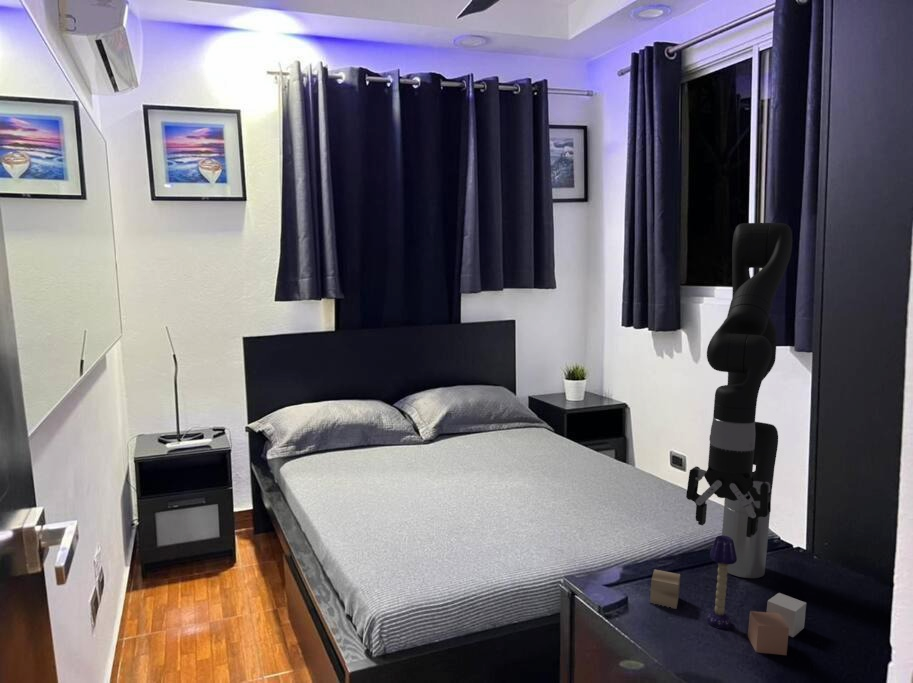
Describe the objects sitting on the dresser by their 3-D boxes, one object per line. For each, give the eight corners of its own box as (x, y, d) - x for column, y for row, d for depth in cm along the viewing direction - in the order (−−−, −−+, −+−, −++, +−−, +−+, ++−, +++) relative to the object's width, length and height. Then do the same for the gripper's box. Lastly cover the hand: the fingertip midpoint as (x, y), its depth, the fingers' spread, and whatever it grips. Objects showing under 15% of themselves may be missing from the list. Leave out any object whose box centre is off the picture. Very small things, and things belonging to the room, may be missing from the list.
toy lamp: (733, 631, 124) (740, 544, 122) (706, 628, 125) (713, 541, 123) (728, 618, 129) (735, 534, 127) (702, 615, 130) (709, 531, 128)
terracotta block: (747, 637, 123) (749, 610, 122) (776, 639, 122) (779, 613, 122) (756, 652, 118) (758, 625, 117) (786, 655, 117) (788, 628, 117)
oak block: (652, 592, 139) (654, 569, 138) (678, 597, 137) (680, 574, 136) (649, 603, 134) (651, 579, 134) (676, 609, 132) (678, 584, 132)
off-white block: (776, 617, 130) (778, 592, 130) (804, 628, 127) (806, 602, 126) (765, 626, 127) (767, 600, 126) (793, 637, 123) (795, 611, 123)
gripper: (779, 447, 122) (771, 534, 124) (699, 433, 130) (693, 514, 132) (768, 455, 116) (761, 547, 118) (685, 440, 125) (679, 525, 126)
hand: (725, 529), depth 125 cm, fingers open, 8 cm apart
